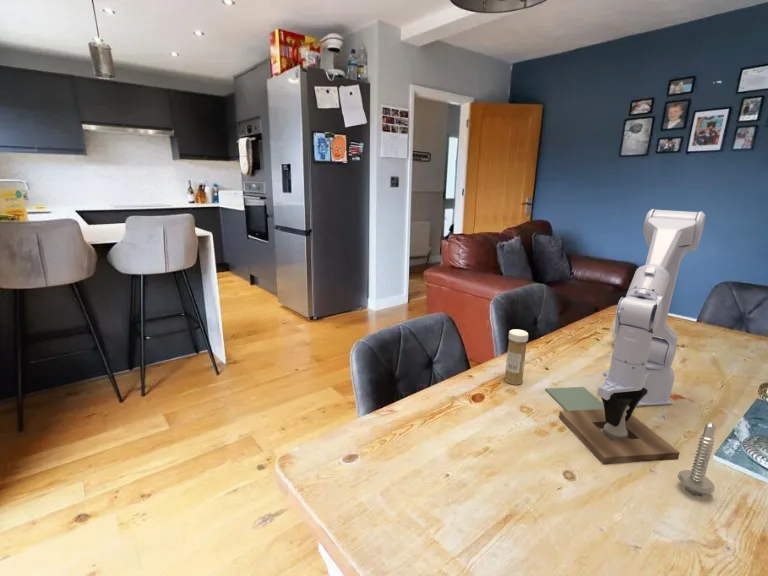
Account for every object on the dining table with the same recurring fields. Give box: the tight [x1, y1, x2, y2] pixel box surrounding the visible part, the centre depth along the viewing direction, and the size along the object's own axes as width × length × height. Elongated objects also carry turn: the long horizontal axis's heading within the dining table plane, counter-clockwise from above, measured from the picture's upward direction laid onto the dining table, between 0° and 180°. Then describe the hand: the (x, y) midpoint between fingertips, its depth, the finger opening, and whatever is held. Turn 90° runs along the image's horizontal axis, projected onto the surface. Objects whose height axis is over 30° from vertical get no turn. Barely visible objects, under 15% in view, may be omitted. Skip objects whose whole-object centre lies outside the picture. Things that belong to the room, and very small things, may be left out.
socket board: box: [558, 409, 680, 465], centre depth 81 cm, size 15×15×2 cm
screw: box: [677, 422, 716, 498], centre depth 65 cm, size 13×5×5 cm
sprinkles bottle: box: [503, 328, 529, 386], centre depth 101 cm, size 5×5×13 cm
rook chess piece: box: [601, 406, 630, 440], centre depth 80 cm, size 4×4×8 cm
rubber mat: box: [544, 386, 604, 411], centre depth 94 cm, size 10×10×1 cm
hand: (616, 421), depth 80 cm, fingers closed on rook chess piece, 3 cm apart
